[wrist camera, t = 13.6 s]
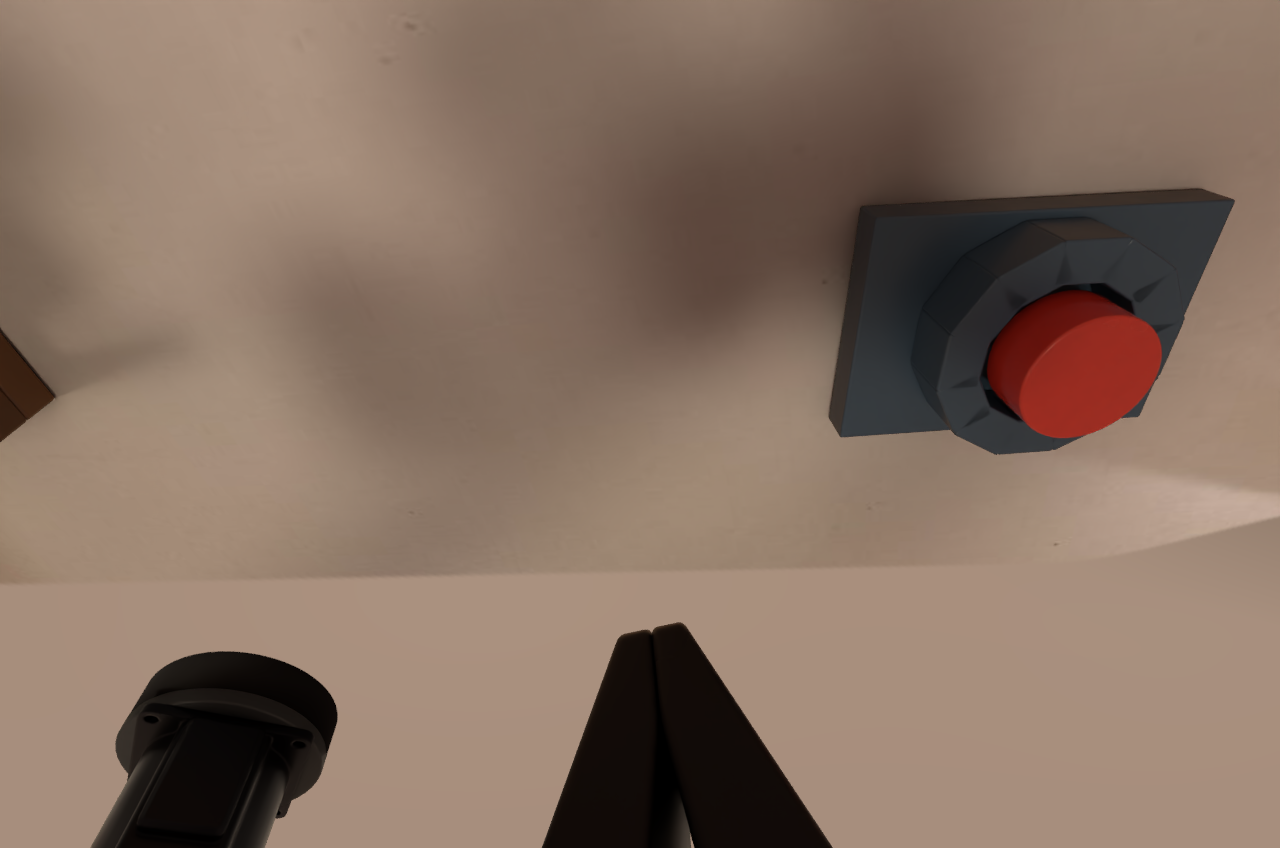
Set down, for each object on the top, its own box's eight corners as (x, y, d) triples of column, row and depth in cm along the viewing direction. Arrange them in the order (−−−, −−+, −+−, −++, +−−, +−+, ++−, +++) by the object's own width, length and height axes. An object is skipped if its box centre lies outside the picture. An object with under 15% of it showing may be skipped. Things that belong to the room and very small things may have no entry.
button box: (828, 418, 23) (860, 472, 20) (859, 205, 19) (904, 239, 16) (1115, 398, 23) (1181, 449, 21) (1202, 188, 19) (1296, 218, 17)
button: (971, 409, 20) (1004, 444, 18) (1005, 292, 18) (1044, 320, 16) (1090, 401, 20) (1132, 434, 18) (1137, 285, 18) (1187, 311, 16)
